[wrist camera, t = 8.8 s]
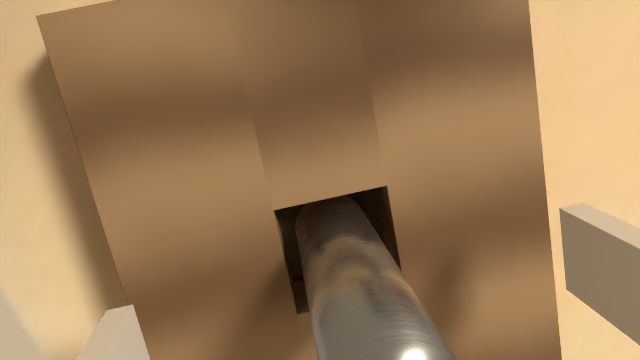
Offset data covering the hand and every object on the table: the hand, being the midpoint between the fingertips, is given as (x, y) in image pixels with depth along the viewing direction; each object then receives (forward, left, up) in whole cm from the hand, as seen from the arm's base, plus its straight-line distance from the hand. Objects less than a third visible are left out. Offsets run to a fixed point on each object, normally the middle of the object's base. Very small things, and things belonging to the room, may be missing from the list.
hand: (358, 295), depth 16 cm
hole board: (0, 0, -7) cm, 7 cm away
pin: (0, 0, -7) cm, 7 cm away
